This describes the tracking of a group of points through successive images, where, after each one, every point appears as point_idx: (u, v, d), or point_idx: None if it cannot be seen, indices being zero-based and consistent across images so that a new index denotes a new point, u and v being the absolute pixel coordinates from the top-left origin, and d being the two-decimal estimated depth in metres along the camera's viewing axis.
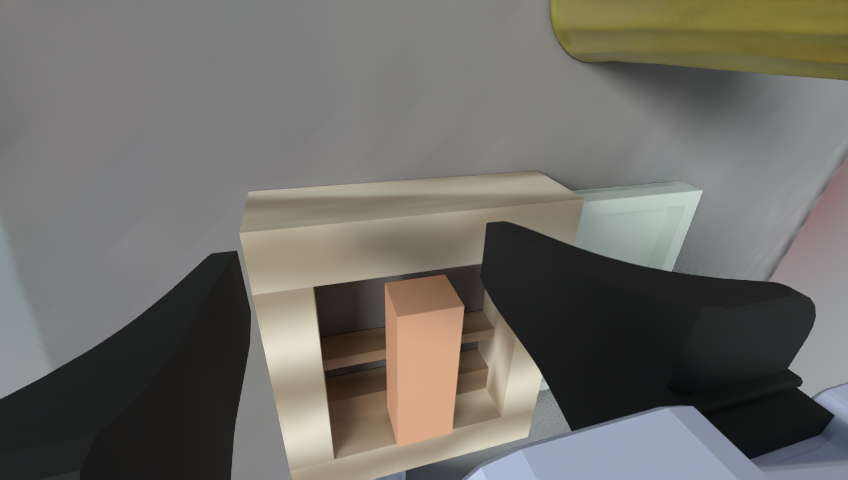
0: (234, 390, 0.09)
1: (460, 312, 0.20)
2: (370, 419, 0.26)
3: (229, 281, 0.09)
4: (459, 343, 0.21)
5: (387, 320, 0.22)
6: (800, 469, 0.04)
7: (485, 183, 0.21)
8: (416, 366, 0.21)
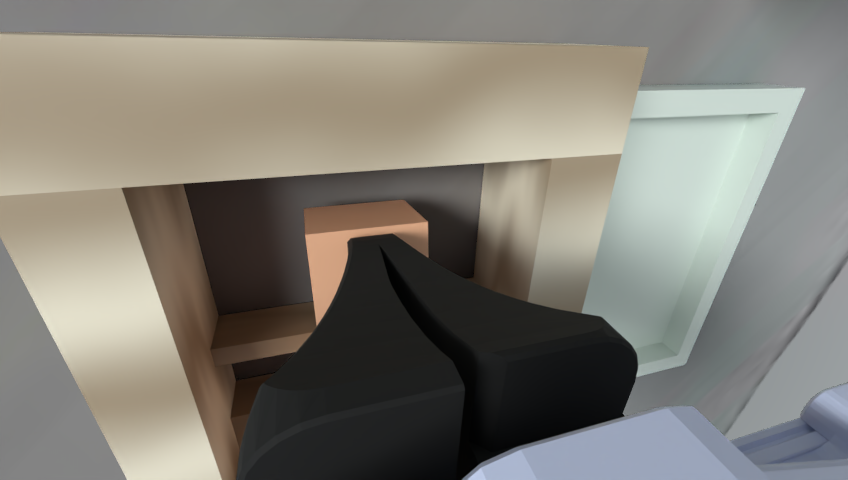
0: None
1: (422, 234, 0.12)
2: None
3: None
4: None
5: None
6: (800, 469, 0.04)
7: None
8: None
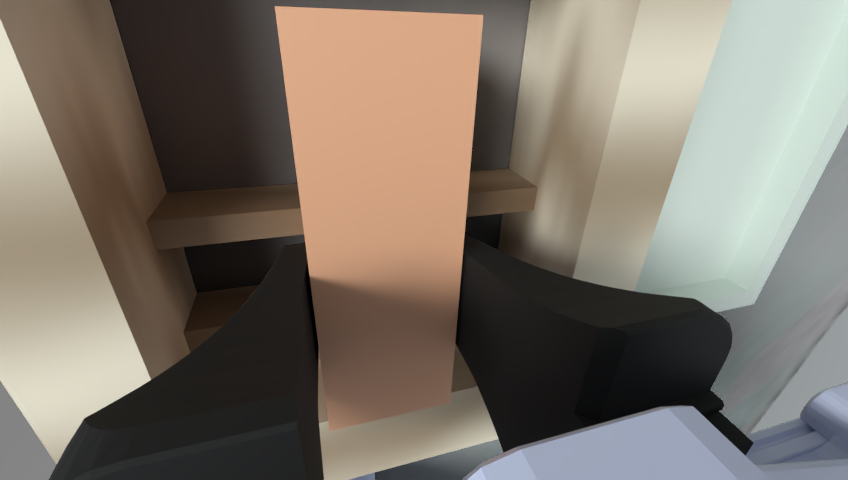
0: (316, 374, 0.09)
1: (471, 38, 0.07)
2: None
3: None
4: (467, 153, 0.08)
5: None
6: (800, 469, 0.04)
7: None
8: (355, 213, 0.08)
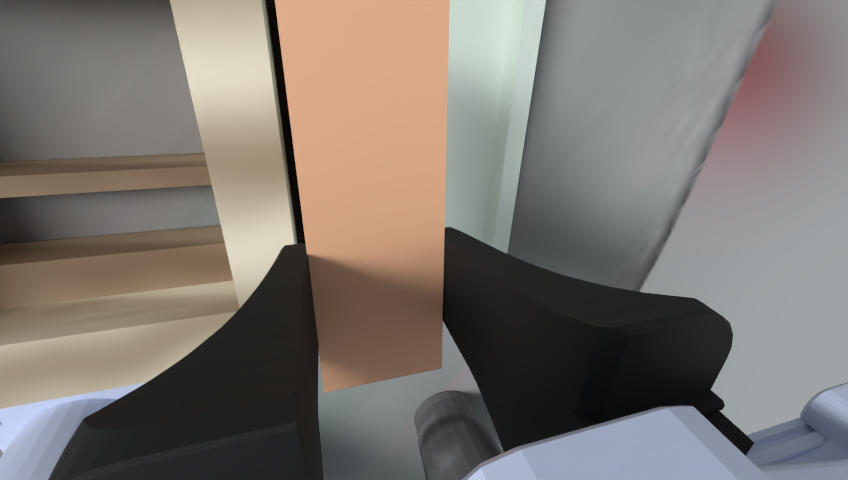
0: (315, 374, 0.09)
1: (441, 5, 0.08)
2: (22, 311, 0.16)
3: (309, 271, 0.10)
4: (443, 110, 0.09)
5: None
6: (800, 469, 0.04)
7: None
8: (344, 164, 0.09)
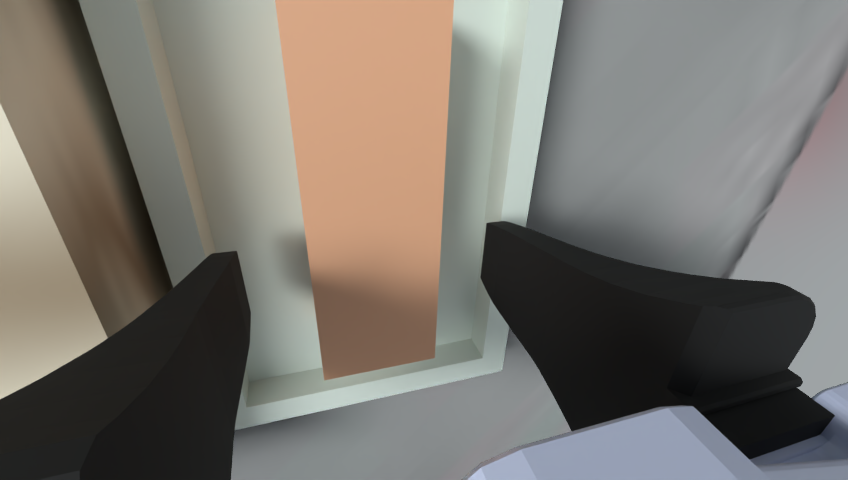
0: (234, 390, 0.09)
1: (444, 17, 0.08)
2: None
3: (229, 281, 0.09)
4: (444, 121, 0.09)
5: None
6: (800, 469, 0.04)
7: None
8: (344, 173, 0.09)
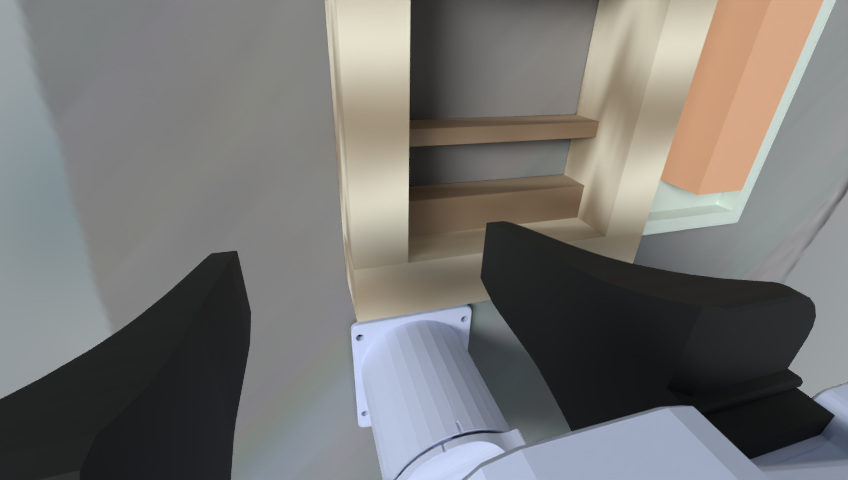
0: (234, 390, 0.09)
1: (818, 7, 0.20)
2: (444, 235, 0.21)
3: (229, 281, 0.09)
4: (799, 54, 0.21)
5: (710, 43, 0.22)
6: (800, 469, 0.04)
7: None
8: (756, 77, 0.21)
